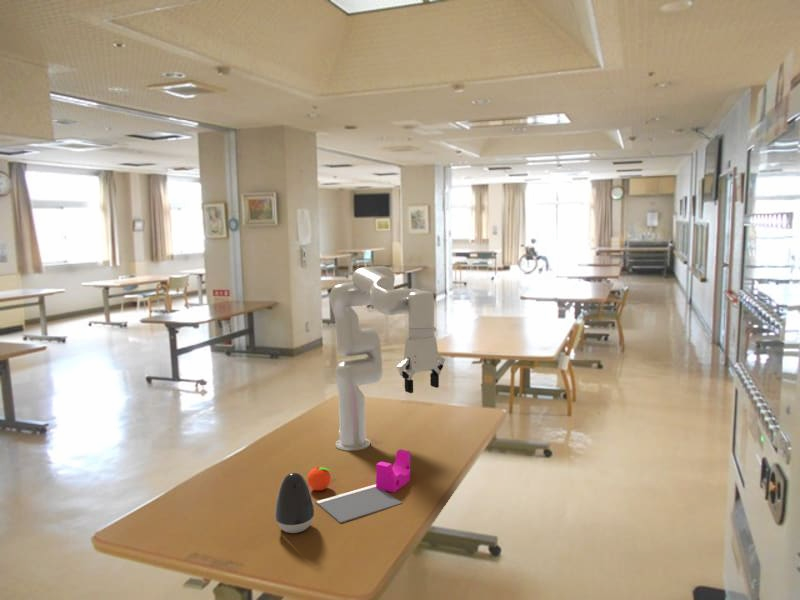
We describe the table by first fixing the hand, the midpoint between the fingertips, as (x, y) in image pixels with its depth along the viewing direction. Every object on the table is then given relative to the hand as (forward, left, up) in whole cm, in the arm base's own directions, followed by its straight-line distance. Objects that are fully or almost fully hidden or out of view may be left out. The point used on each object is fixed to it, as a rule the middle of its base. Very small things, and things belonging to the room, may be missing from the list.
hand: (422, 389), depth 179 cm
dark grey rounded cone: (+1, -42, -31) cm, 52 cm away
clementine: (-16, -26, -31) cm, 44 cm away
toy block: (-7, -5, -30) cm, 32 cm away
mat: (-2, -21, -30) cm, 37 cm away
